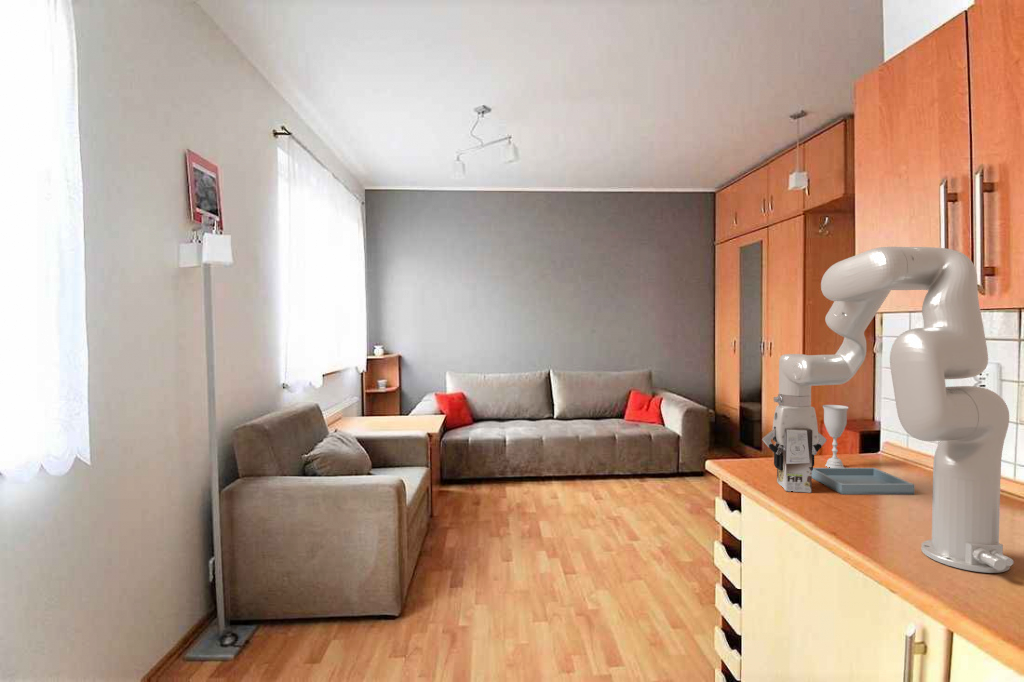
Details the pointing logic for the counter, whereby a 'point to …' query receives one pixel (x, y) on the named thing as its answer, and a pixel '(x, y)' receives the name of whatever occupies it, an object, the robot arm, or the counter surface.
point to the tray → (861, 481)
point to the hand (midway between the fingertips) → (793, 468)
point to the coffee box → (796, 461)
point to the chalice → (835, 429)
